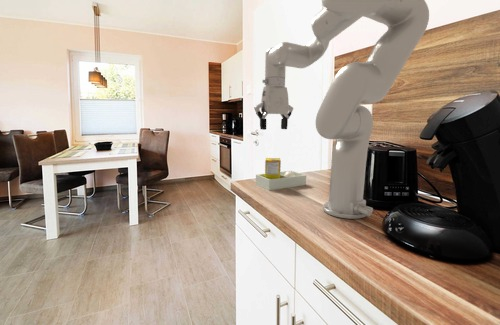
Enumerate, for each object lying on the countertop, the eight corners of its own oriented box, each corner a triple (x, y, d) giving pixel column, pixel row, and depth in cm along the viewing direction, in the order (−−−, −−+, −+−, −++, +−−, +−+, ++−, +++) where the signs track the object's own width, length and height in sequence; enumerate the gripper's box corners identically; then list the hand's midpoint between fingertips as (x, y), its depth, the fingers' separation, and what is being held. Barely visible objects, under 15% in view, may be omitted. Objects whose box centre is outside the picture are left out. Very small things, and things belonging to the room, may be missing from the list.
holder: (305, 186, 107) (306, 175, 107) (269, 191, 99) (269, 179, 98) (290, 180, 116) (291, 170, 115) (255, 185, 107) (255, 174, 107)
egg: (297, 183, 108) (298, 172, 108) (288, 185, 106) (288, 173, 105) (290, 181, 113) (290, 169, 112) (280, 182, 110) (281, 171, 110)
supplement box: (279, 184, 108) (280, 157, 106) (280, 188, 102) (280, 160, 100) (265, 183, 108) (265, 157, 106) (264, 187, 102) (265, 160, 100)
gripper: (260, 80, 91) (259, 130, 94) (299, 84, 99) (297, 129, 102) (250, 83, 98) (249, 129, 100) (287, 86, 106) (286, 128, 109)
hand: (273, 129), depth 101 cm, fingers open, 9 cm apart
